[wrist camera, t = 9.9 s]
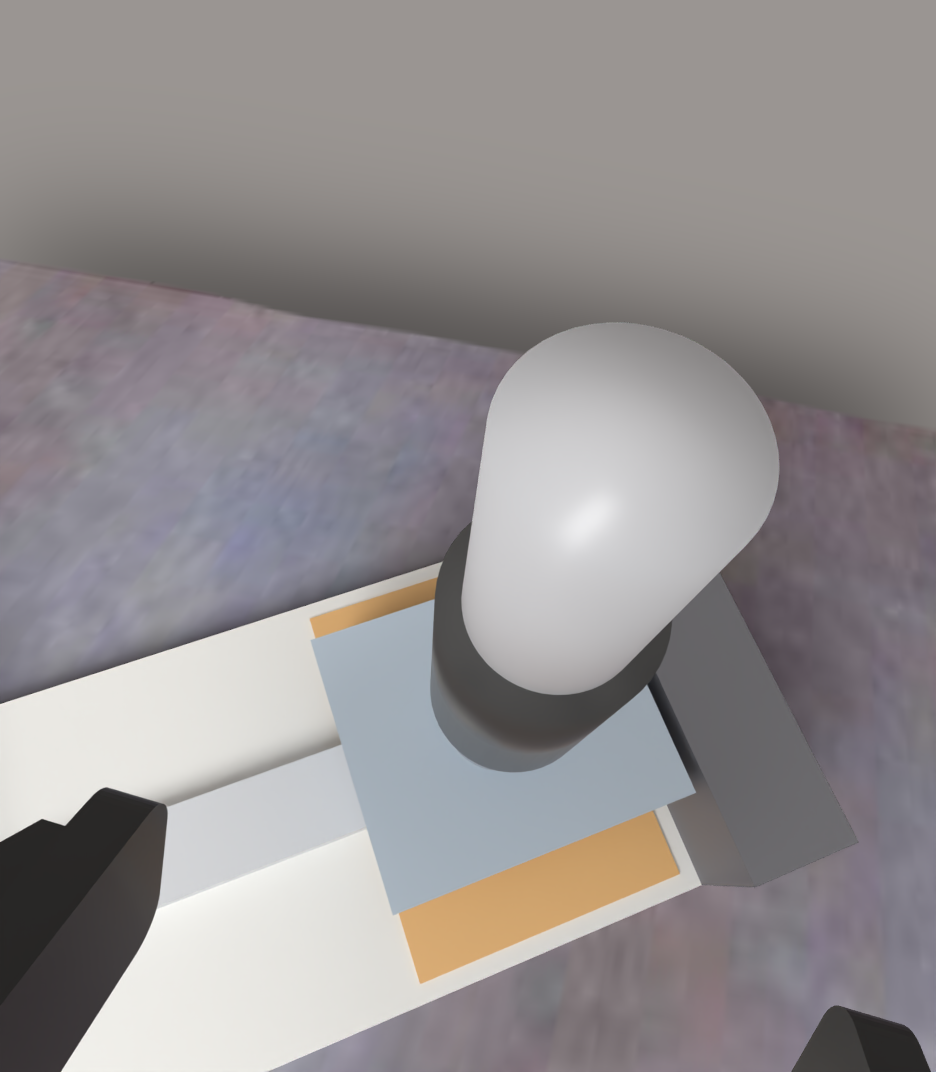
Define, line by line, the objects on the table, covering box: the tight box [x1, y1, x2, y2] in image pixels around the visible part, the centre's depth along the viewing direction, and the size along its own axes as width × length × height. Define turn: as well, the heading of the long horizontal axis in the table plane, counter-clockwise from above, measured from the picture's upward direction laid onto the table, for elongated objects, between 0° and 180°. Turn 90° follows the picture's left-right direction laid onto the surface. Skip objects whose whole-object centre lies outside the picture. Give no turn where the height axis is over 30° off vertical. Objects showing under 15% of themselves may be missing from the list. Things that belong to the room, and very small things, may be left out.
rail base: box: [0, 562, 858, 1072], centre depth 22 cm, size 28×12×6 cm, turn 110°
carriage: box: [310, 322, 779, 915], centre depth 15 cm, size 8×7×17 cm
